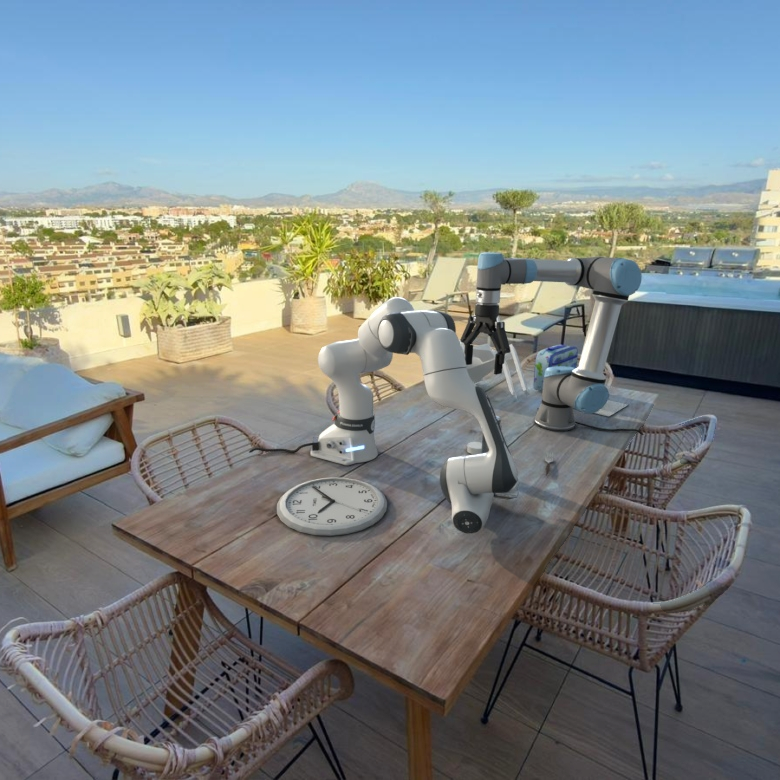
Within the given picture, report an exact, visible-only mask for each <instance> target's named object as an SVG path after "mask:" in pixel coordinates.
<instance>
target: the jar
mask: <svg viewBox="0 0 780 780" xmlns="http://www.w3.org/2000/svg"><path fill="white" fill-rule="evenodd" d="M496 418H497V420H498V423H499V426H500V428H501V429H502V428H503V427H502V423H501V422H502V418H501V417H500V416H499V415H496ZM481 443H482V450H481V453H486V452H488V451H489V448H488V445H487V442H486V440H485V437H484V434H483V433H482V438H481Z"/></svg>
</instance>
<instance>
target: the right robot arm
mask: <svg viewBox="0 0 780 780" xmlns="http://www.w3.org/2000/svg"><path fill="white" fill-rule="evenodd" d="M476 269H477V272H476V289H475V303H476V304H475V305H474V315H470V316H468V317H467V318H468V319H467V323H466V325H465V328H464V330H463V332H462V335H461V337H460V341H461V342H463V343H464V345H465V349H464V353H465V361H466V365H470V364H472V357H473V347H474V344H473V342H474V341H475V340H476V339H477V337H479V335H480V334H481V333H483V334H485V335H487V336H488V337H490V340H491V342H492V344H493V347H494V348H495V350H497V352H498V353H497V354H496V355H495V368H494V370H493V374H494V375H502V374H503V367H502V365H503V364H504V358H505V354H506V353H510V352H511V350H510V346H509V345H510V343H509V339H508V335H507V332H506V323H505V321H501V322H497V317H498V316H500V305H499V304H500V302H501V291H502V290H501V289H502V285H506V284H507V285H525V284H531V283H533V282H548V283H565V284H566V285H567V286H575V287H581V288H585V289H589V290H592V297H593V299H594V305H593V309H592V311H591V316H590V320H589V323H588V326H587V327H588V328H587V331H586V334H585V335H586V336H585V338H584V341H583V347H582V350H581V355H580V358H579V362H578V364H577V366H576V368H574V367H565V366H556V367H549V368H547V369H546V370H545V374H544V381H543V391H541V392H542V394H541V402H540V405H539V407H537V409H536V413H535V417H534V424H535V425H536V426H537V427H539V428H542V429H544V430H549V431H556V432H567V431H572V430H574V429H575V428H576V425H579V426H582V427H586V428H588V429H593V430H598V431H603V432H636V433H638V434H640V435H641V436H644V433H643V432H642V431H641V430H639V429H636V428H603V427H598V426H593V425H590V424H586V423H583V422H581V421H580V422H579V421H576V418H575V417H576V416H575V413H574V409H575V410H576V411H577V412H580V413H584V414H588V415H590V414H591V415H593V414H596V413H595V412H597V411H599V410H600V409H602V408H603V407H604V405H605V404H606V402H607V400H609V397H610V392H609V389H608V387H607V386H606V385H605V384H606V382H607V377H606V375H605V374H604V371H605V368H606V367H605V366H606V363H607V360H608V356H609V353H610V348H611V345H612V342H613V338H614V334H615V330H616V327H617V323H618V321H619V320H618V319H619V316H620V313H621V309H622V306H623V305H624V304H626V303H628V302H629V299H630V298H629V297H630V296H632V295H634V294H636V291H638V290H639V288H640V287H641V284H642V278H643V275H642V270H641V268H640V266H639V265H638V263H637V262H636V261H634V260H633V259H630V258H629V259H628V258H624V257H608V256H589V257H588V256H587V257H571V258H569V259H567V260H566V259H565V260H563V259H547V258H546V259H545V258H544V259H543V258H526V257H525V258H524V257H505V256H504V254H503V253H502V252H481V253H480V254H479V255H478V260H477V266H476Z"/></svg>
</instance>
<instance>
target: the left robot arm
mask: <svg viewBox="0 0 780 780" xmlns="http://www.w3.org/2000/svg"><path fill="white" fill-rule="evenodd" d="M394 354H397V355H405V356H408V355H409V354H415V355H417V356H418V357H419V359H420V364H421V370H422V376H423V381H424V386H425V390H426V393H427V395H428V397H429V398H430V400H432V401H433V402H434V403H435V404H437V405H439V406H442V407H445V408H448V409H452V410H459V411H463V412H466V413H468V414H471V415H472V416H473V417H475V418H476V420H477V421H478V423H479V426H480V428H481V431H482V435H483V434H484V437H485V440H486V442H487V445H488V448H489V451H488V452H486V453H481V454H474V455H473V454H469V455H468V454H465V455H459V456H452V457H448V458H447V459H445V460H446V461H444V463H443V465H442V467H441V469H440V474H439V483H440V489H441V491H442V494H443V496H444V498H445V499H446V501H448V503H449V504H451V521H452V524H453V527H455V529H456V530H458V531H459V532H461V533H465V534H476V533H478V532H480V531H481V530H482V529H484V527H485V526H486V524H487V521H488V520H489V516H490V513H491V507H492V505H493V502H494V498H495V499H502V500H509V501H510V500H513V499H517V498H518V496H519V485H520V484H519V483H520V479H519V470H518V466H517V464H516V461H515V460H514V458H513V456H512V454H511V452H510V451H511V450H510V449H509V446H508V444H507V442H506V439H505V437H504V434H503V431H502V428H500V426H499V423H498V420H497V418H496V416H497V415H496V412H495V410H494V408H493V406H492V402H491V400H490V398H489V397H488V394H487V392H486V391H485V389H484V388H483V387H482V386H479V385H476V383H474V382H473V381H472V380H471V378H470V376H469V374H468V371H467V366H466V361H465V357H464V353H463V350H462V347H461V344H460V341H459V337H458V334H457V328H456V323H455V321H454V319H453V317H452V316H451V315H450V314H449V313H447V312H444V311H441V310H421V309H420V310H419V309H418V310H415V309H414V307H413V305H412V304H411V302H409V300H407V299H405V298H404V297H400V296H399V297H398V296H396V297H395V296H394V297H391V298H389V299H388V300H386V301H384V302H383V303H382V304H381V305H379V306H378V307H377V308H375V310H373V312H372V313H371V314H369V316H368V317H367V318H366V319H365V320H364V322H363V323H361V325H360V326H359V328H358V331H357V338H354V339H348V340H342V341H335V342H332V343H329V344H326V345H324V346H322V347H321V349H320V350H319V353H318V356H317V363H318V367H319V369H320V371H321V372H322V373H323V375H325V376H326V377H327V378H329V379H330V380H331V381H332V382H333V383H334V385H335V387H336V390H337V393H338V403H339V404H338V407H339V410H338V411H337V412H336V413H335V414H334V415H333V417H332V418H331V419H332V422H334V423H333V424H331V425H330V426H328V427H327V428H325V429H324V430H323V431H321V433H320V434H319V436H314V437H312V440H311V441H312V442H308V443H303V444H301V445H299V446H298V447H297V448H295V449H292V450H291V449H287V448H263V447H252V448H251V449H250V450H249V451H248V453H249V454H250V453H253V452H254V451H261V452H267V453H268V452H269V453H270V452H286V453H289V454H291V453H292V454H294V453H298V452H299V451H300V450H301V449H303V448H305V447H310V446H311V449H310V456H311V457H313V458H317V459H321V460H325V461H329V462H333V463H336V464H339V465H344V466H350V465H354V464H360V463H365V462H369V461H372V460H374V459H375V458H377V457H378V455H379V451H378V449H377V443H376V439H375V438H376V437H375V430H376V429H375V428H376V427H375V426H376V420H375V418H376V417H375V412H374V392H373V390H372V389H371V387H369V385H367V384H364V383H362V382H361V378H360V375H361V374H368V373H373V372H377V371H379V370H382V369H385V368H387V367H389V366H390V365H391V363H392V361H393V357H394Z"/></svg>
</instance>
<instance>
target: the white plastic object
mask: <svg viewBox="0 0 780 780" xmlns="http://www.w3.org/2000/svg"><path fill="white" fill-rule="evenodd" d="M497 322H502V321H501V318H500V315H498V317H497ZM458 339H459V338H458ZM460 339H461V338H460ZM460 339H459V341H460ZM460 344H461V347H462V350H463V353H464V349H465V345H464V343H463V342H461V341H460ZM509 346H510V350H511V352H510V353H506V354H505V358H504V364H503V365H502V371H503V373H504V376H505V380H506V383H507V386H508V390H509V393H510V394H511V395H512V397H513V398H514V399H515V400H517V392H516V391H517V390H516V388H515V385H514V381H513V378H512V375H511V371H510V369H509V365H508V361H510V360H513V363H514V366H515V369H516V372H517V376H518V380H519V382H520V385H521V389H522V391H523V393H524V395H525V396H526V397H528V396H531V395H530V390H529V388H528V387H529V386H528V384H527V381H526V378H525V375H524V371H523V369H522V368H523V367H522V366H521V362H520V359H519V355H518V352H517V349H516V347H515V346H514V345H513V343H511V344H510V343H509ZM497 353H498V352H497V350H496V349H493V348H492V347H491V346H490V344H489V343H488V342H487V343H483V344H479V345H473V357H472V364H470V365H466V366H467V371H468V374H469V376H470V378H471V380H472V381H473V383H474V384H477V383H480V382H482V381H484V378H485V377H486V376H487V375H489V374H490V373H492V372H494V368H495V355H496V354H497ZM464 357H465V353H464Z"/></svg>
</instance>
